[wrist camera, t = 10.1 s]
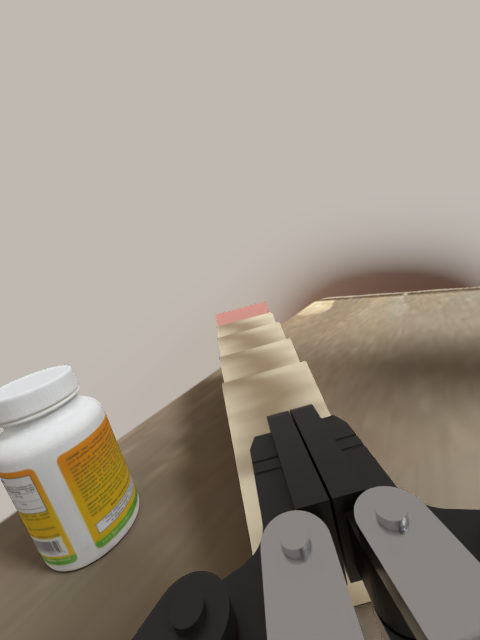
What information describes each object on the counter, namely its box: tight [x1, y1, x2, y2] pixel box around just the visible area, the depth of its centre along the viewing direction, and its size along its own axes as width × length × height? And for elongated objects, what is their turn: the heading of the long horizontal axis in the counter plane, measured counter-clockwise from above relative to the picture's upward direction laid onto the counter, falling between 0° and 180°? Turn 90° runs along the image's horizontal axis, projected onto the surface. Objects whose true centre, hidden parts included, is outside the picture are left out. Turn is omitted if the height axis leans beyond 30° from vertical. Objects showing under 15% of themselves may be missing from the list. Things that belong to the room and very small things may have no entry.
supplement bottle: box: [0, 365, 139, 571], centre depth 17 cm, size 5×5×10 cm
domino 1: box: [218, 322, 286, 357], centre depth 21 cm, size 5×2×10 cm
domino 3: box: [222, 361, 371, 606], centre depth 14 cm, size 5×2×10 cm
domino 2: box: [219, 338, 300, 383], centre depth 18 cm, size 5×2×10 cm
